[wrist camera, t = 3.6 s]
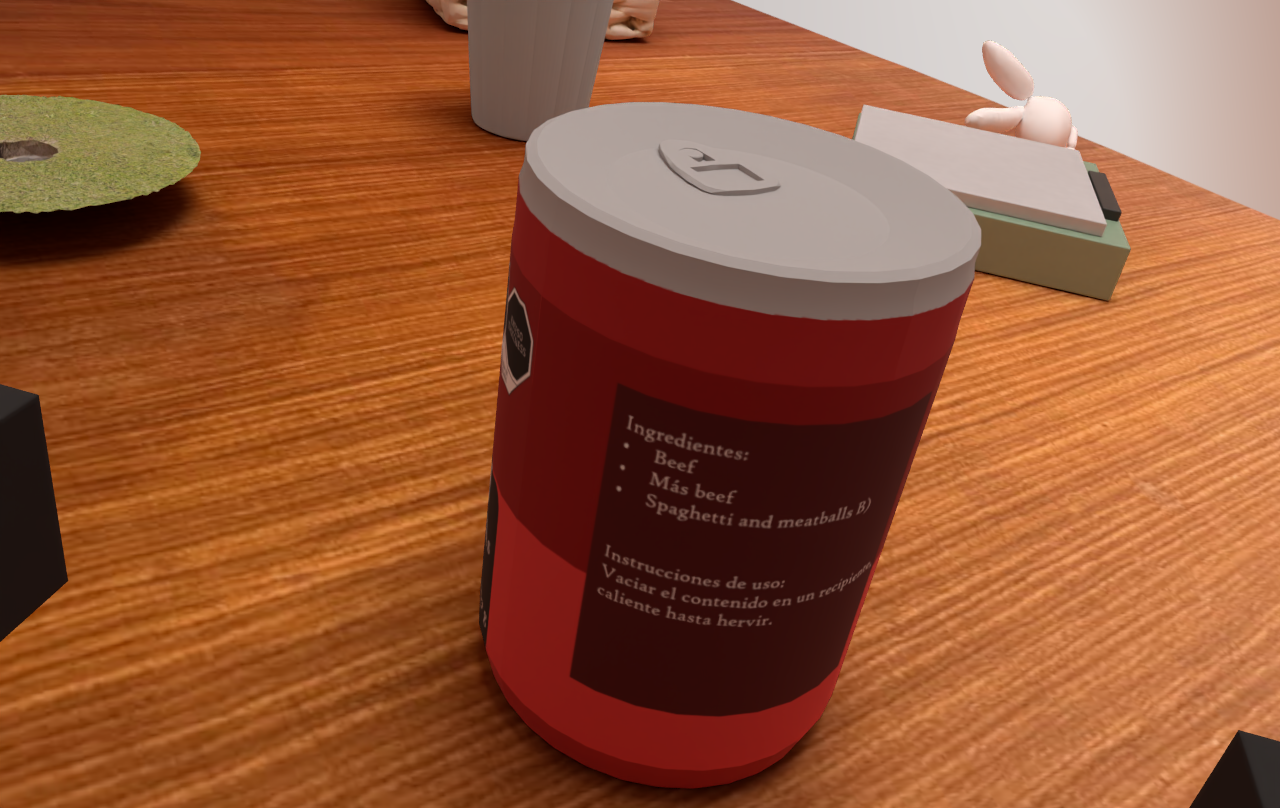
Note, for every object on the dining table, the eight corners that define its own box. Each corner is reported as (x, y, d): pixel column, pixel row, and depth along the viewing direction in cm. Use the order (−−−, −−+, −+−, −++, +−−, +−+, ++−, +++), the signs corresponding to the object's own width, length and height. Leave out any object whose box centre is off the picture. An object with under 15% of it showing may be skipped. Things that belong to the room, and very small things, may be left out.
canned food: (631, 499, 28) (706, 81, 23) (893, 670, 24) (1065, 214, 19) (395, 632, 23) (417, 130, 17) (682, 879, 19) (831, 330, 13)
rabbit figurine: (1089, 186, 59) (983, 103, 56) (1032, 216, 62) (930, 137, 60) (1104, 108, 62) (1004, 24, 59) (1049, 140, 65) (952, 62, 62)
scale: (1079, 208, 55) (1100, 152, 54) (1109, 301, 45) (1137, 234, 44) (847, 157, 57) (862, 100, 55) (826, 236, 47) (843, 169, 45)
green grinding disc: (234, 161, 44) (231, 113, 43) (154, 282, 35) (149, 225, 34) (-67, 128, 42) (-77, 78, 41) (-238, 247, 33) (-256, 185, 32)
